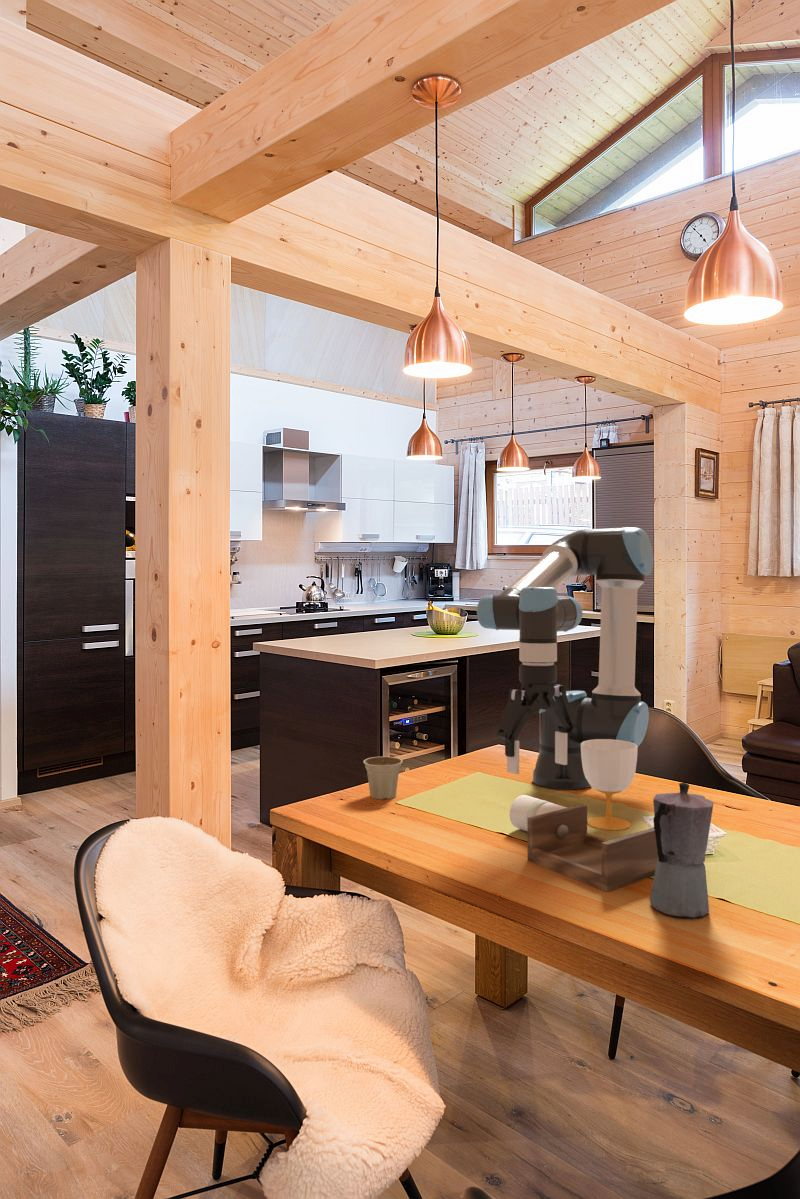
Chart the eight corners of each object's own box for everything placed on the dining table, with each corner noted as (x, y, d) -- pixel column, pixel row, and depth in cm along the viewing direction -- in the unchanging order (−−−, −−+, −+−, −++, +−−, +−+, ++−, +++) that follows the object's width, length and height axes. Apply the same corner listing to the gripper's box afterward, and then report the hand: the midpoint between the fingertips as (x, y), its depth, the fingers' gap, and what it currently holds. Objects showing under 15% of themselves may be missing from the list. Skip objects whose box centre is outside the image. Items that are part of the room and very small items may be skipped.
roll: (505, 825, 169) (513, 791, 170) (528, 830, 173) (536, 797, 174) (549, 841, 159) (557, 805, 160) (572, 846, 163) (581, 811, 164)
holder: (527, 860, 152) (527, 817, 152) (582, 844, 161) (582, 804, 161) (607, 891, 137) (607, 844, 137) (663, 872, 146) (663, 827, 146)
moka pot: (727, 902, 132) (728, 780, 132) (689, 934, 121) (689, 800, 120) (670, 888, 139) (671, 770, 138) (629, 916, 127) (629, 789, 127)
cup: (624, 836, 166) (624, 752, 165) (571, 825, 173) (571, 745, 172) (645, 822, 175) (646, 743, 175) (594, 812, 182) (594, 736, 182)
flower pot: (399, 802, 192) (399, 766, 191) (360, 801, 193) (359, 764, 193) (405, 791, 201) (405, 757, 201) (367, 790, 202) (367, 756, 202)
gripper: (566, 658, 175) (566, 757, 176) (478, 665, 161) (478, 773, 161) (594, 661, 169) (593, 763, 170) (505, 668, 155) (504, 780, 155)
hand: (537, 768), depth 165 cm, fingers open, 13 cm apart
